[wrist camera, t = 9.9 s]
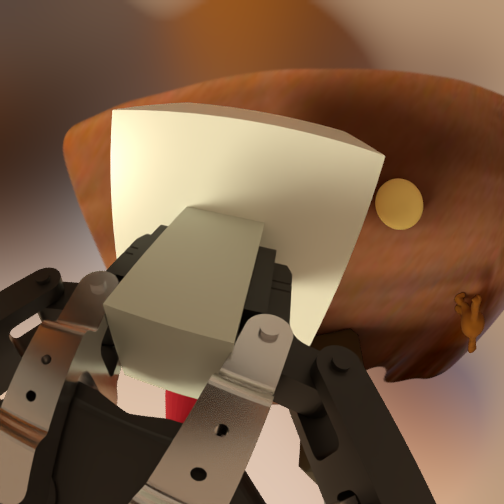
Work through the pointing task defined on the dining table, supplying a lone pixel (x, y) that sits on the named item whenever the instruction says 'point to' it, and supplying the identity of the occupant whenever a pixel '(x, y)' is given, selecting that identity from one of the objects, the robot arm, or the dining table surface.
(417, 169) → the dining table surface
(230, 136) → the cover
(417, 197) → the ball
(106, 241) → the dining table surface
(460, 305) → the toy figurine
